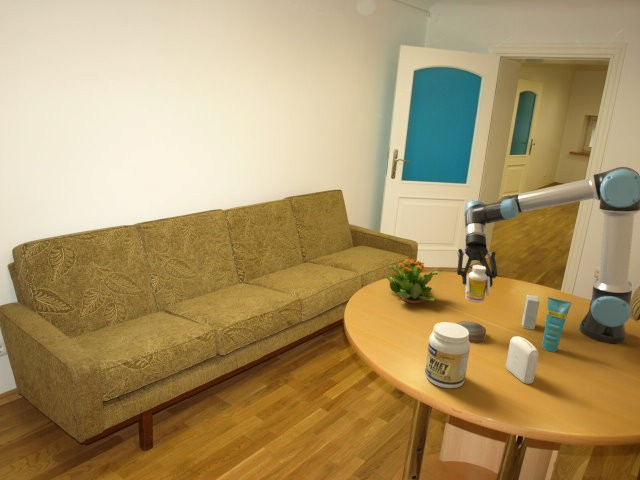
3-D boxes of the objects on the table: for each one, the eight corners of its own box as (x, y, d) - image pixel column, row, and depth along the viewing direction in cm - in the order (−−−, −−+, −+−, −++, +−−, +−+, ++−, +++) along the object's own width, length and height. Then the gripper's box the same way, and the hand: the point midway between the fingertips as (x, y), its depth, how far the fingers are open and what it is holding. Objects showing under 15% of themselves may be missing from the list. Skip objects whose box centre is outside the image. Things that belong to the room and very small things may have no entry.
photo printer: (503, 367, 152) (509, 333, 149) (514, 366, 153) (520, 332, 150) (523, 385, 143) (530, 349, 139) (535, 383, 144) (542, 348, 140)
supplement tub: (416, 377, 144) (422, 327, 140) (437, 363, 153) (443, 316, 148) (451, 395, 136) (459, 343, 131) (471, 380, 144) (479, 330, 140)
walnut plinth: (491, 339, 171) (492, 331, 170) (469, 344, 166) (470, 336, 165) (469, 326, 180) (470, 318, 180) (448, 331, 176) (449, 323, 175)
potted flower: (451, 308, 196) (456, 269, 191) (403, 314, 188) (407, 274, 183) (418, 286, 219) (422, 251, 214) (374, 291, 210) (377, 255, 205)
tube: (537, 348, 166) (547, 298, 161) (538, 342, 170) (548, 294, 165) (560, 354, 162) (571, 304, 157) (561, 348, 166) (572, 299, 161)
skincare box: (534, 330, 180) (539, 301, 176) (522, 328, 181) (527, 299, 178) (532, 323, 185) (538, 296, 182) (521, 321, 187) (526, 294, 183)
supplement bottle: (484, 304, 167) (490, 271, 164) (465, 301, 169) (470, 268, 165) (482, 297, 174) (487, 265, 170) (464, 295, 175) (469, 263, 171)
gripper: (499, 244, 180) (502, 300, 169) (447, 240, 182) (448, 294, 171) (504, 235, 173) (509, 292, 162) (451, 231, 175) (452, 286, 164)
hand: (477, 293), depth 167 cm, fingers closed on supplement bottle, 7 cm apart
